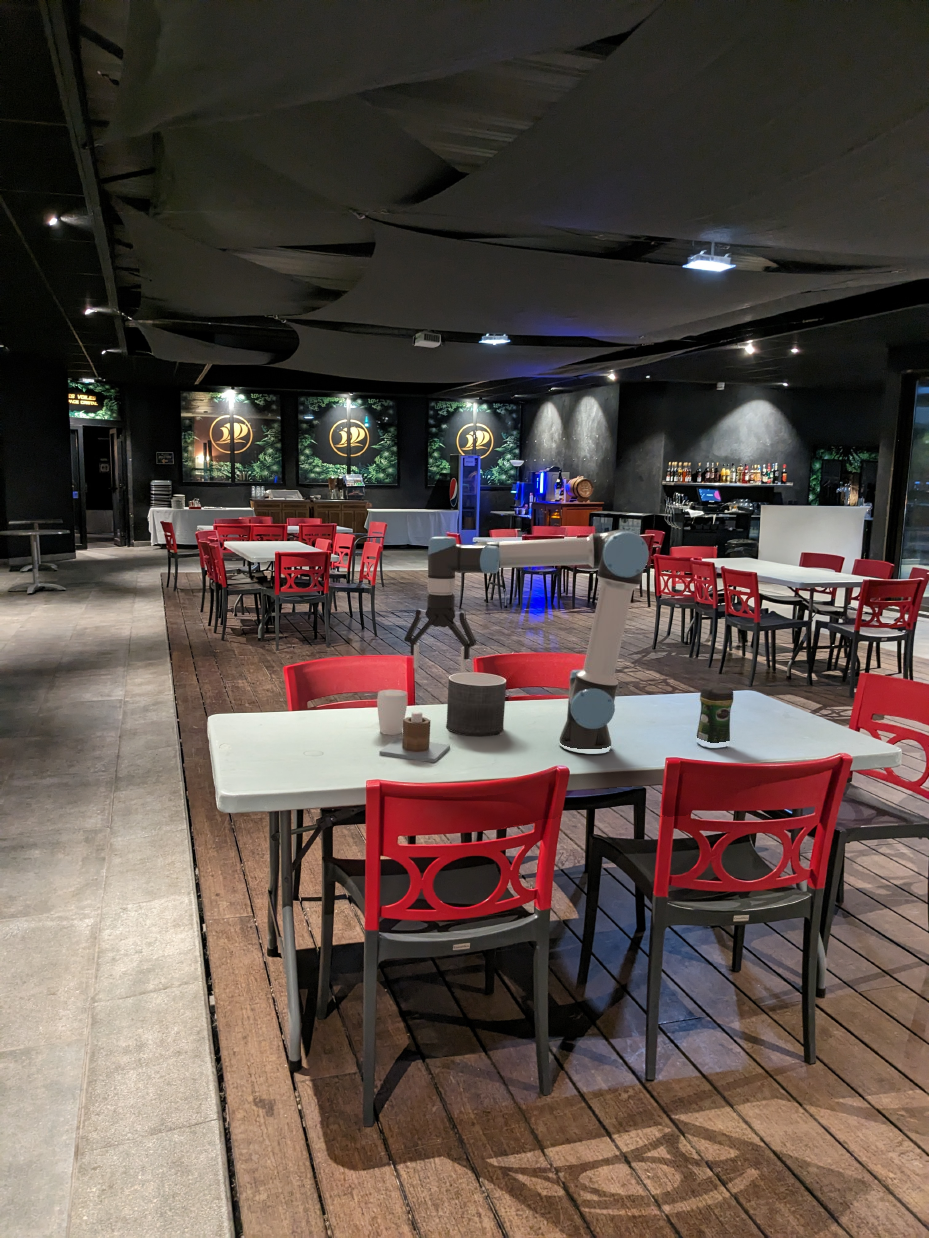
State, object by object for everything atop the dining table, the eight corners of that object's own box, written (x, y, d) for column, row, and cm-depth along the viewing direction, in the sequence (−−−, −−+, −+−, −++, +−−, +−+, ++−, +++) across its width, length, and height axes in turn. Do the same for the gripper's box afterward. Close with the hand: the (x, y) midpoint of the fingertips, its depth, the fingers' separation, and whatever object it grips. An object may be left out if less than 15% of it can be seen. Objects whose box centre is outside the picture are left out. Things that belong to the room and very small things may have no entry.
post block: (450, 748, 243) (451, 710, 241) (434, 762, 230) (436, 722, 228) (397, 740, 247) (398, 704, 246) (379, 754, 234) (380, 715, 232)
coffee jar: (717, 740, 264) (723, 682, 262) (733, 748, 257) (739, 688, 254) (690, 742, 261) (696, 683, 258) (706, 750, 254) (712, 689, 251)
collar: (431, 745, 241) (432, 718, 240) (423, 752, 234) (424, 724, 233) (408, 742, 243) (409, 715, 242) (399, 749, 236) (400, 721, 235)
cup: (401, 737, 251) (403, 697, 249) (372, 734, 253) (373, 694, 251) (409, 729, 260) (411, 691, 258) (381, 726, 262) (382, 688, 260)
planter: (437, 731, 260) (439, 680, 257) (459, 717, 276) (461, 670, 274) (491, 740, 253) (494, 688, 251) (511, 725, 270) (514, 677, 267)
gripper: (488, 594, 235) (486, 669, 238) (402, 589, 241) (401, 662, 244) (481, 597, 228) (479, 675, 231) (393, 592, 234) (392, 667, 237)
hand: (439, 669), depth 237 cm, fingers open, 13 cm apart
